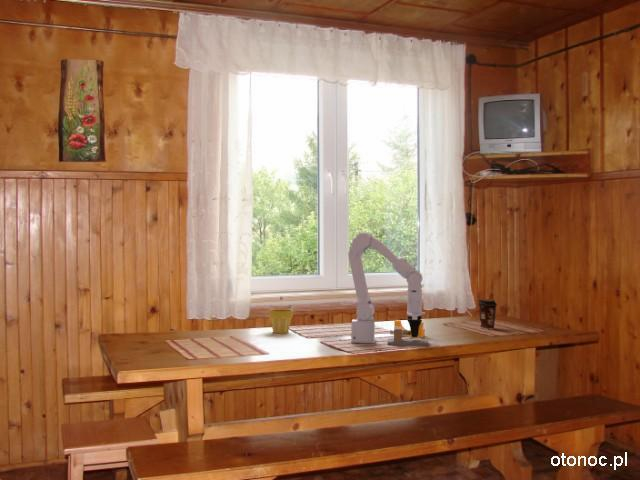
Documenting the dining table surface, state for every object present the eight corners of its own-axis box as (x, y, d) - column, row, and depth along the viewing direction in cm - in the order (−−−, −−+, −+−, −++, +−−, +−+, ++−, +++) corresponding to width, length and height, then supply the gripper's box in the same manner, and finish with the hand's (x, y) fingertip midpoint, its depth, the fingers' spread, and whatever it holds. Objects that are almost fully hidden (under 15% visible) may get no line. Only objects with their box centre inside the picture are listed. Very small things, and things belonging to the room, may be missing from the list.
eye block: (387, 344, 269) (387, 329, 269) (388, 341, 277) (388, 326, 276) (428, 345, 267) (428, 330, 267) (427, 342, 275) (428, 327, 274)
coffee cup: (473, 327, 315) (473, 299, 315) (488, 326, 318) (488, 298, 318) (485, 330, 307) (485, 301, 307) (500, 329, 311) (500, 300, 310)
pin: (390, 338, 271) (390, 326, 271) (390, 336, 274) (390, 325, 274) (418, 338, 270) (418, 327, 270) (418, 337, 273) (418, 326, 272)
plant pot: (294, 330, 303) (294, 308, 303) (291, 334, 293) (291, 311, 292) (271, 330, 304) (271, 308, 304) (267, 333, 294) (267, 311, 294)
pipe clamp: (424, 336, 290) (424, 321, 290) (421, 338, 286) (421, 322, 286) (397, 334, 295) (397, 319, 295) (394, 335, 291) (394, 320, 291)
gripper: (425, 303, 263) (425, 338, 264) (424, 299, 278) (424, 332, 278) (406, 303, 264) (406, 338, 264) (406, 299, 278) (406, 332, 279)
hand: (414, 335), depth 271 cm, fingers open, 7 cm apart
